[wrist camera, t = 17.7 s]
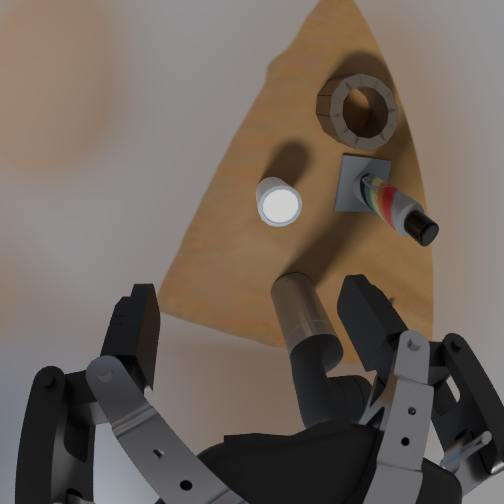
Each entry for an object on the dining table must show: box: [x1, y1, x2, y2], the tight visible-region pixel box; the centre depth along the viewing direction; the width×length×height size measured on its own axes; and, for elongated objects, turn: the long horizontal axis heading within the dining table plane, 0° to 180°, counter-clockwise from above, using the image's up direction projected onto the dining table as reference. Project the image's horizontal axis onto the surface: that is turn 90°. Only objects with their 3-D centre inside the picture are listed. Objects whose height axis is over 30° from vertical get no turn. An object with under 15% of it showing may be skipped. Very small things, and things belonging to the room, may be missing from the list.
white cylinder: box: [256, 177, 302, 227], centre depth 44 cm, size 7×7×7 cm
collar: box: [316, 73, 398, 151], centre depth 38 cm, size 12×12×6 cm
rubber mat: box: [334, 155, 392, 212], centre depth 48 cm, size 11×11×1 cm
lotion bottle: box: [353, 173, 439, 247], centre depth 40 cm, size 6×6×20 cm
